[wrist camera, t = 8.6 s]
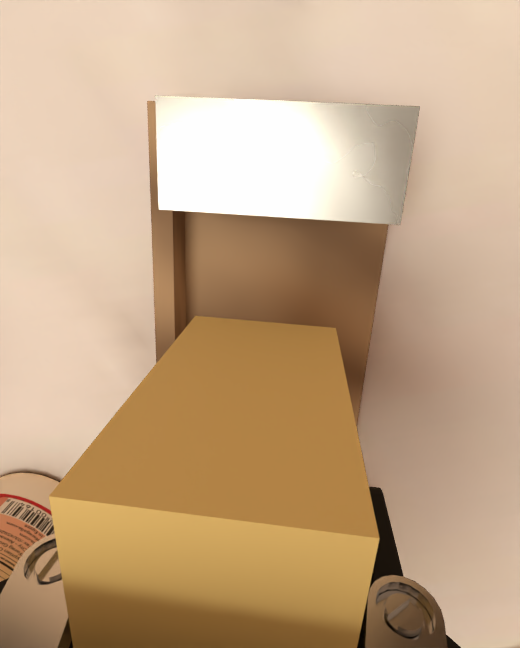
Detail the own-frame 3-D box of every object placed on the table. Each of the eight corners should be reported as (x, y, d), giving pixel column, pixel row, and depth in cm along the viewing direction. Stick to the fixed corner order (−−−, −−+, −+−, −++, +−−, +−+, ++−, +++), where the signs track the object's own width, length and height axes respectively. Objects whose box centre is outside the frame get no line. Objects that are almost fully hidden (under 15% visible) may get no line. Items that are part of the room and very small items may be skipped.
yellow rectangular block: (308, 543, 14) (311, 866, 7) (195, 528, 14) (102, 825, 8) (335, 327, 11) (379, 538, 5) (195, 315, 11) (49, 496, 5)
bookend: (369, 212, 19) (400, 224, 13) (204, 202, 20) (158, 209, 14) (380, 133, 18) (420, 106, 12) (204, 125, 18) (155, 95, 12)
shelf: (338, 520, 27) (356, 706, 17) (178, 500, 28) (111, 667, 18) (398, 123, 19) (496, 60, 9) (171, 113, 20) (45, 45, 10)
